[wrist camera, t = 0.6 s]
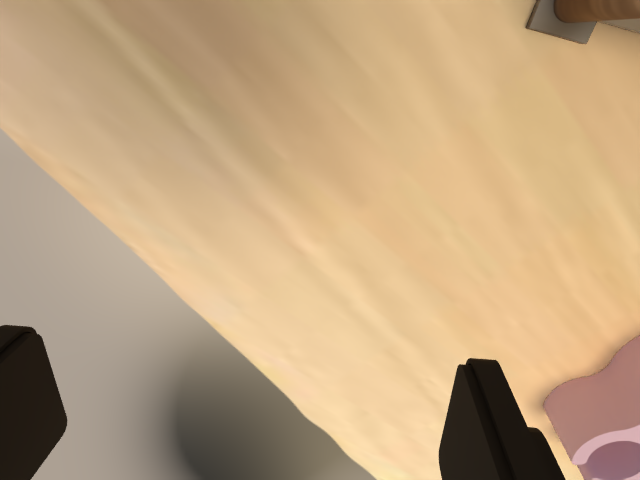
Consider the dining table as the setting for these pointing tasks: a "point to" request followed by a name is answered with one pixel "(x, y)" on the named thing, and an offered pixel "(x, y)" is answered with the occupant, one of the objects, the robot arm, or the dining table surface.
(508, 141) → the dining table surface
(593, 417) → the clip
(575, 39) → the wooden pegs
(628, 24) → the bar
